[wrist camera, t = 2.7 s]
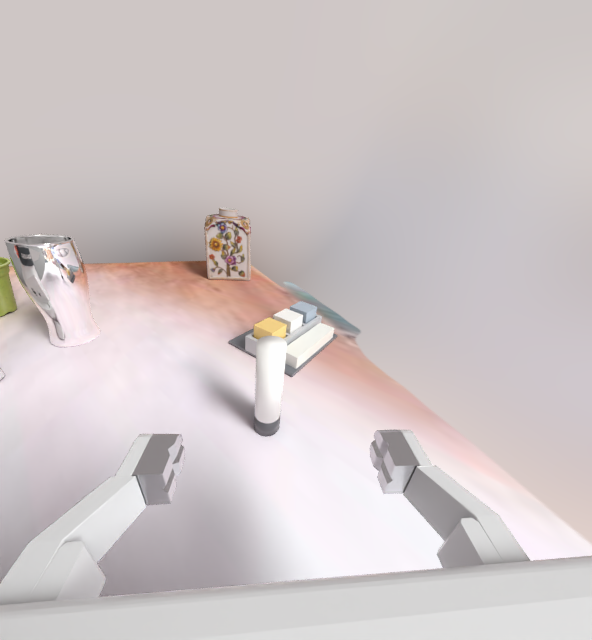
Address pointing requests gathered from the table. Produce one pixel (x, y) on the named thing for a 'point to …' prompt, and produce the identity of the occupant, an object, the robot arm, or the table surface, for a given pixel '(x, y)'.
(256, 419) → the white rounded cylinder
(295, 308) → the key slate
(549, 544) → the table surface
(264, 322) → the key amber
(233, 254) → the decorative jar
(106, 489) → the robot arm
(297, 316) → the key white
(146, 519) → the table surface
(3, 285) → the plant pot
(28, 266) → the beer glass
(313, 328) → the keypad
